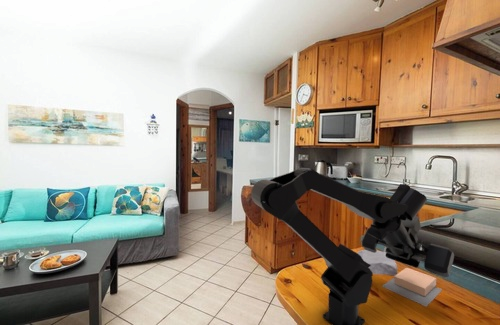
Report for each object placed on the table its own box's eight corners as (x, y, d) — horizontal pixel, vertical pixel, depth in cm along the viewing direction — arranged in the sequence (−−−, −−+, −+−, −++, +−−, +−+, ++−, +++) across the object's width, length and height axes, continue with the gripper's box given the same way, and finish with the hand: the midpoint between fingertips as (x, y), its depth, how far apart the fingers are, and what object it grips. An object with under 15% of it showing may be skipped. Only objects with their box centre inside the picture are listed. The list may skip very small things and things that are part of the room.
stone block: (365, 281, 67) (402, 277, 65) (362, 265, 67) (398, 261, 65) (355, 263, 79) (385, 259, 77) (352, 249, 79) (382, 246, 77)
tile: (424, 288, 56) (436, 278, 60) (394, 276, 61) (406, 267, 66) (424, 297, 56) (436, 286, 60) (394, 283, 61) (406, 274, 66)
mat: (426, 307, 52) (426, 306, 52) (381, 287, 61) (381, 286, 61) (442, 290, 59) (442, 289, 59) (399, 274, 67) (399, 273, 67)
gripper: (452, 213, 48) (465, 250, 55) (366, 199, 63) (385, 229, 70) (439, 259, 44) (455, 293, 50) (351, 232, 59) (372, 261, 66)
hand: (411, 264), depth 59 cm, fingers closed
